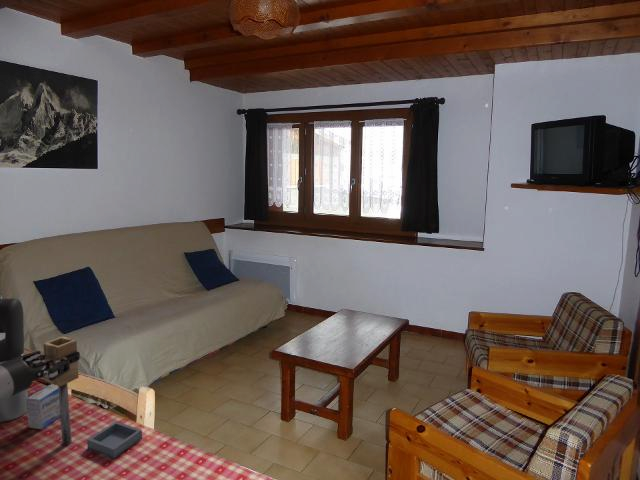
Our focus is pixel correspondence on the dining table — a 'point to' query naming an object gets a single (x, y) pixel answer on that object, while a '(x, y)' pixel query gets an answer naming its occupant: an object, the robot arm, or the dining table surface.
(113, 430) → the tray
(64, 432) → the post
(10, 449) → the dining table surface
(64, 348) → the sleeve
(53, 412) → the medicine box
